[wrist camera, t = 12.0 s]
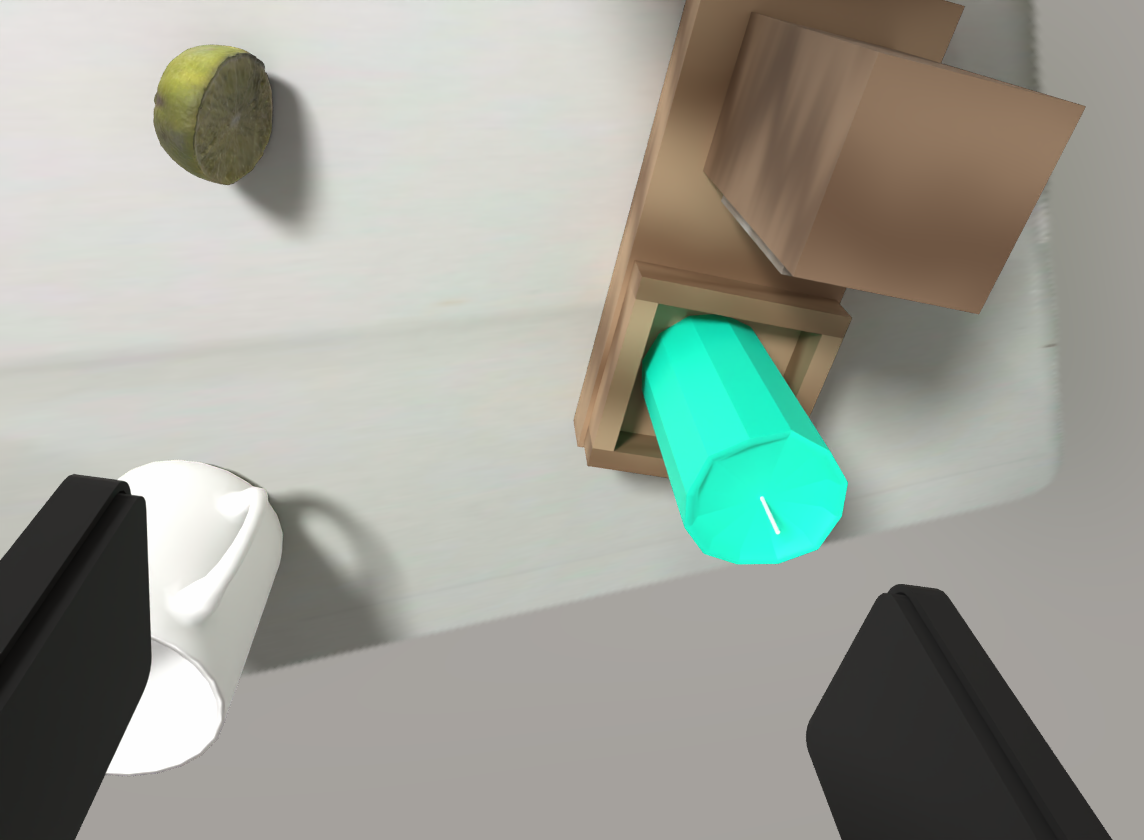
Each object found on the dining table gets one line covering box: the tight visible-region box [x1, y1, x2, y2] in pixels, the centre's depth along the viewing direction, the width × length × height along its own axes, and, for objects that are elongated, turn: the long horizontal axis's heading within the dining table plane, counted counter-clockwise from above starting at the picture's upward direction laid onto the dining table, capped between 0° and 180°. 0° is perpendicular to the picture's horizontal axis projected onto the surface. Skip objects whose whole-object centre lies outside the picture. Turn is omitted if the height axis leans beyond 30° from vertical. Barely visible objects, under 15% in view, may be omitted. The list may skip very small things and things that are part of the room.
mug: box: [105, 460, 283, 776], centre depth 38 cm, size 10×12×12 cm
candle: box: [642, 314, 848, 564], centre depth 33 cm, size 6×6×12 cm
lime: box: [153, 45, 273, 185], centre depth 31 cm, size 4×5×5 cm
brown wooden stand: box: [574, 0, 1085, 478], centre depth 31 cm, size 22×10×14 cm, turn 167°
